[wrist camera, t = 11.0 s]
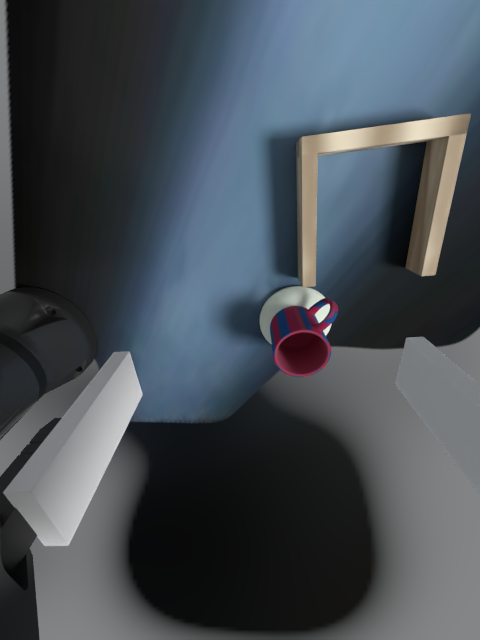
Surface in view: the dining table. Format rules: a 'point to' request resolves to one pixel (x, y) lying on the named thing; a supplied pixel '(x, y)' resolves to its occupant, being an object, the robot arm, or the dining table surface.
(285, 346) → the mug
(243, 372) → the dining table surface
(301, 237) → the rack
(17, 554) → the robot arm
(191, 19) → the dining table surface
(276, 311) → the white round flat disc
